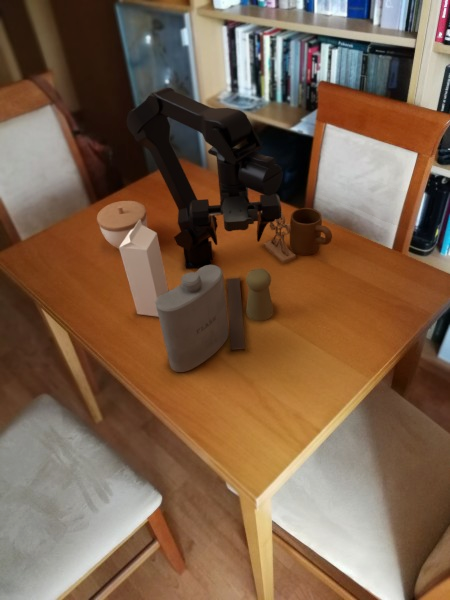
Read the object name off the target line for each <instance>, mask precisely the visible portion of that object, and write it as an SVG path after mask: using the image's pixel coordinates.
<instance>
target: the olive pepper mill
mask: <svg viewBox="0 0 450 600" xmlns="http://www.w3.org/2000/svg"><path fill="white" fill-rule="evenodd" d="M245 283H246V285H247V287H248V291H247V293H248V294H247V301H246V306H245V307H246V308H245V313H246V316H247V317H248V319H250V320H252V321H256V322H263V321H266V320H269V319H270V318H271V317H272V316H273V315H274V307H273V303H272V297H271V296H272V295H271V291H270V287H271V283H272V276H271V273H270V272H269V271H268V270H266V269H265V268H260V267H259V268H253V269H251V270H250V271H249V272H248V273H247V274H246V278H245Z"/></svg>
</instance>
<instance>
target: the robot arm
mask: <svg viewBox="0 0 450 600" xmlns="http://www.w3.org/2000/svg"><path fill="white" fill-rule="evenodd" d="M169 119H172V120H174V121H176V122H178V123H179V124H182V125H184V126H185V127H188V128H191V129H193V130H194V131H197V132H198V133H200V134H201V135H202V137H203V139H204V141H205V143H207V144H208V145H209V146H211V147H210V148H209V149H208V151H207V153H208V155H211V156H215V157H216V165H217V167H216V168H217V178H218V189H219V200H220V201H219V204H213V205H210V202H209V198H204V199H198V197H197V196H196V194H195V191H194V189H193V188H192V185H191V183H190V181H189V178H188V177H187V174H186V172H185V170H184V168H183V166H182V164H181V162H180V160H179V158H178V156H177V154H176V153H177V152H176V151H175V149H174V147H173V145H172V143H171V124H170V120H169ZM126 126H127V129H128V131H129V132H130V133H131V134H132V136H133V138H134V139H135V141H136V142H137V143H138V144H139V145H141V146H142V147H143V148H145V149H146V150H148V152H149V153H150V155H151V157H152V159H153V161H154V163H155V165H156V167H157V169H158V171H159V174H160V175H161V178H162V179H163V181H164V183H165V186H166V188H167V190H168V191H169V193H170V195H171V197H172V200H173V201H174V203H175V205H176V207H177V210H178V211H177V213H178V214H177V225H178V227H179V230H180V231H179V232H178V233H177V234H176V235H174V237H173V238H174V241H175V244H176V246H178V247H180V248H182V249H183V254H184V268H185V269H200V268H201V267H203V266H206V265H212V261H213V260H214V251H213V244H214V245H215V246H218V237H217V236H218V235H217V229H218V221H217V220H218V218H217V217H216V216H222V217H223V227H224V230H225V231H226V232H233V231H247V230H248V229H249V226H250V225H255V224H254V223H255V222H257V224H256V241H257V243H259V242H260V241H261V239H262V236H263V234H264V231H265V228H266V227H267V225H268V224H270V222H272V223H273V222H274V223H275V219H280V218H281V217H282V216H281V212H282V204H281V200H280V196H279V194H277V193H276V192H277V191H278V190H279V188H280V186H281V184H282V181H283V177H284V176H283V175H284V172H283V170H282V167H281V165H279V164H278V163H276V159H275V157H273V156H270V155H269V156H267V155H263V154H261V153H259V151H261V150H262V149H263V148H264V147H263V144H262V143H261V141H260V137H259V135H258V134H257V133H256V130H255V129H254V127H253V125H252V123H251V121H250V119H249V117H248V116H247V114H246V113H245V112H244V111H242V110H241V109H236V108H231V107H211V106H209V105H207V104H204V103H201V102H200V101H197V100H194V99H193V98H190V97H189V96H186V95H183V94H181V93H178V92H176V91H175V90H174V89H173V88H172V87H163V88H161V89H158V90H155V91H153V92H151V93H150V94H149V95H148V96H147V98H146V99H145V100H144V101H142V102H141V103H140V104H139V105H138V106H137V107H135V108H133V109H130V110H129V111H128V113H127V118H126ZM244 142H247V143H246V144H244V145H242V146H241V147H237V146H238V145H240V144H242V143H244ZM249 190H253V191H255V192H257V193H259V194H260V195H259V201H250V199H249ZM210 238H211V240H210ZM212 241H213V242H212ZM212 243H213V244H212Z"/></svg>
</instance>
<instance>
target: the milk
mask: <svg viewBox="0 0 450 600" xmlns="http://www.w3.org/2000/svg"><path fill="white" fill-rule="evenodd" d="M118 250H119V253H120V257H121V260H122V263H123V267H124V270H125V275H126V277H127V281H128V285H129V289H130V292H131V295H132V299H133V303H134V306H135V310H136V314H137V315H142V316H149V317H150V316H151V317H157V318H159V316H158V312H157V308H156V303H155V302H156V299H157V298H158V297H159V296H160V295H162V294H164V293H166V292H168V291H170V290H169V285H168V281H167V275H166V272H165V271H166V270H165V266H164V262H163V256H162V252H161V247H160V242H159V237H158V232H156V231H154V230H152V229H150V228H149V227H148V228H147V227H145V226H143V225H142V222H141V219H140V220H139V221H138V223H137V224H136V226H135V227H134V229H132V230H130V232H129V233H128V235H127V236H126V238H125V239H124V241H123V242H122V244H121V245H120V247H119V249H118Z"/></svg>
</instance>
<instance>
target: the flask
mask: <svg viewBox="0 0 450 600" xmlns="http://www.w3.org/2000/svg"><path fill="white" fill-rule="evenodd" d="M180 283H181V284H179V285H177V286H176V287H174V288H172V289H170V290H169V291H168V292H166V293H164V294H162V295H160V296H159V297H158V298H157V299H156V302H155V303H156V308H157V312H158V316H159V317H158V320H159V324H160V329H161V333H162V338H163V342H164V345H165V346H164V347H165V349H166V354H167V357H168V362H169V367H170V368H171V370H172V371H175V372H177V373H184V372H189V371H191V370H193V369H195V368H196V367H198V366H200V365H201V364H203V363H205V362H206V361H207V360H208V359H210V358H211V357H212V356H214V355H215V354H216V353H217V352H219V350H220V349H221V348H222V346H223V345H224V344H225V343H226V342H227V340H228V338H229V336H230V330H229V320H228V311H227V302H226V292H225V282H224V271H223V269H222V268H221V267H220V266H218V265H216V264H211V265H206V266H203V267H200V268H198V270H197V271H195V272H193V271H190V272H187V273H184V274H183V275H182V276H181V278H180Z"/></svg>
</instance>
